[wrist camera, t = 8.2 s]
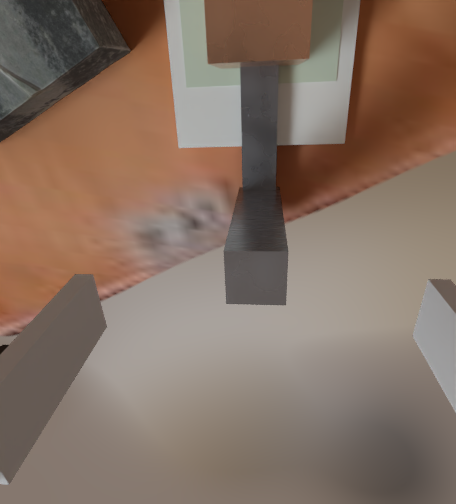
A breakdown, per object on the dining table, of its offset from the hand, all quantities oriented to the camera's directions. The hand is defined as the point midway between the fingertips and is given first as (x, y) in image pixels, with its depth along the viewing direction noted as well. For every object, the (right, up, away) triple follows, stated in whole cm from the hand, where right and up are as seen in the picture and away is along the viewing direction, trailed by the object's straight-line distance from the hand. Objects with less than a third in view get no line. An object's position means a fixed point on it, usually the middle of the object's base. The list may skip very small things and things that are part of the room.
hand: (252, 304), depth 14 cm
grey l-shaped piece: (+1, +12, +10) cm, 15 cm away
